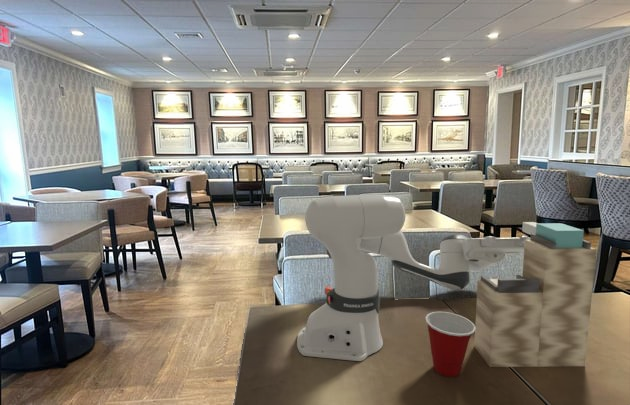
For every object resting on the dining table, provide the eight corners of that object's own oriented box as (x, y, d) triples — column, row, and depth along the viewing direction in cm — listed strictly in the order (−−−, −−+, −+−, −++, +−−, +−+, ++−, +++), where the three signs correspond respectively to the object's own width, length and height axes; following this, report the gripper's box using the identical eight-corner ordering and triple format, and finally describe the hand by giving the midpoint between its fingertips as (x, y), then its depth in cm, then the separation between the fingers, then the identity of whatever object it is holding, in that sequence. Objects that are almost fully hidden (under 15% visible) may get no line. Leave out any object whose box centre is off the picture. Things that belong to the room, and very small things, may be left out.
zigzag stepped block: (489, 366, 90) (497, 243, 86) (474, 346, 99) (480, 234, 95) (584, 366, 90) (597, 242, 86) (560, 346, 99) (570, 233, 94)
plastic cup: (474, 388, 82) (477, 335, 81) (422, 378, 86) (423, 327, 84) (472, 361, 92) (474, 313, 91) (425, 353, 96) (426, 307, 94)
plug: (555, 248, 87) (556, 230, 86) (516, 231, 104) (517, 216, 103) (582, 248, 87) (583, 230, 86) (539, 231, 104) (540, 216, 103)
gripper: (523, 259, 125) (547, 248, 113) (460, 260, 125) (476, 249, 113) (519, 240, 128) (542, 228, 115) (457, 241, 128) (473, 229, 115)
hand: (509, 238), depth 114 cm, fingers open, 8 cm apart
